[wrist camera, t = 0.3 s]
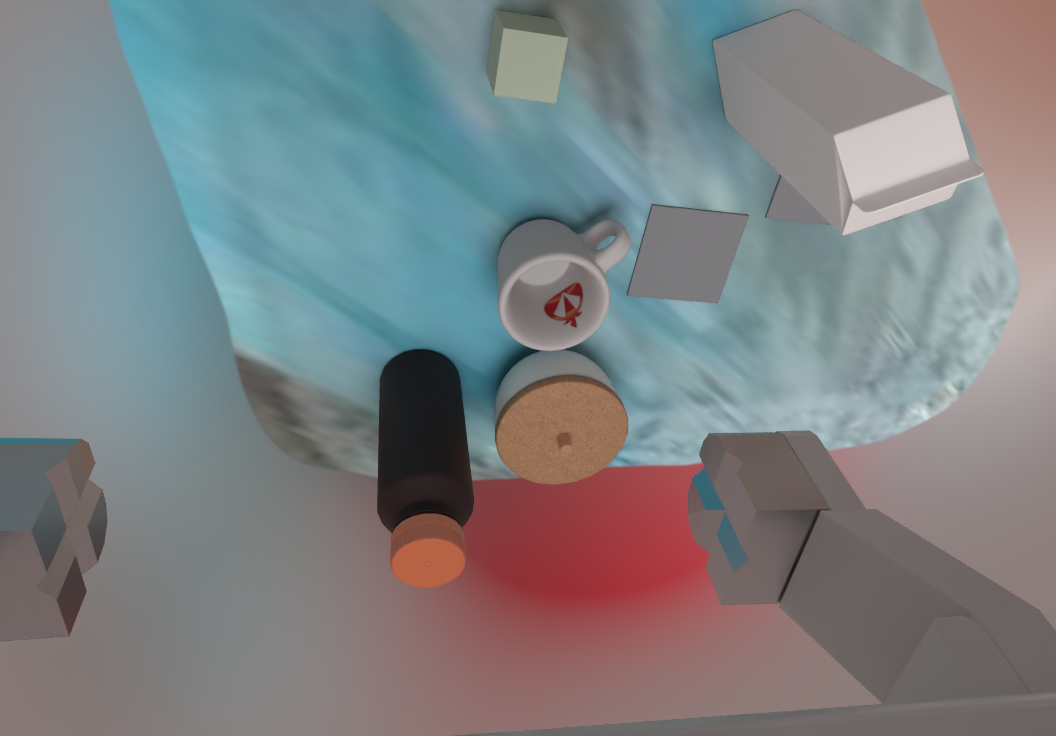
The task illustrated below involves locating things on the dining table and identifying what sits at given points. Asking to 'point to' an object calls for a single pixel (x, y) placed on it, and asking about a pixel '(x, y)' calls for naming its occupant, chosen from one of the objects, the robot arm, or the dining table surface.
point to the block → (526, 56)
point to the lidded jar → (558, 418)
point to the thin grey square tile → (686, 254)
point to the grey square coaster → (792, 205)
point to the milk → (841, 121)
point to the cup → (556, 281)
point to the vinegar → (423, 468)
